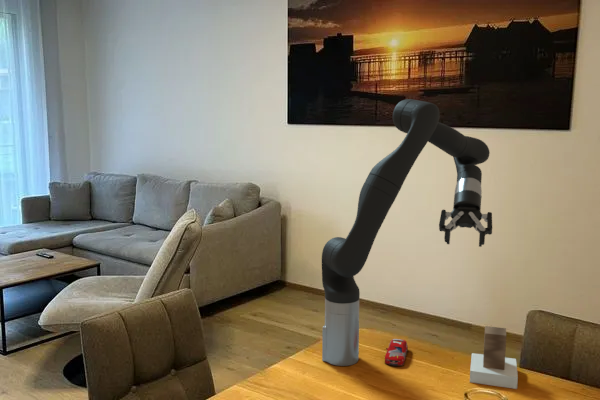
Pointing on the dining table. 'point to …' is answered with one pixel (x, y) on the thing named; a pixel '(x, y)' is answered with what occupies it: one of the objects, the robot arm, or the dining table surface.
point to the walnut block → (494, 348)
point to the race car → (396, 352)
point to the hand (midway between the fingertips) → (464, 243)
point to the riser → (493, 373)
